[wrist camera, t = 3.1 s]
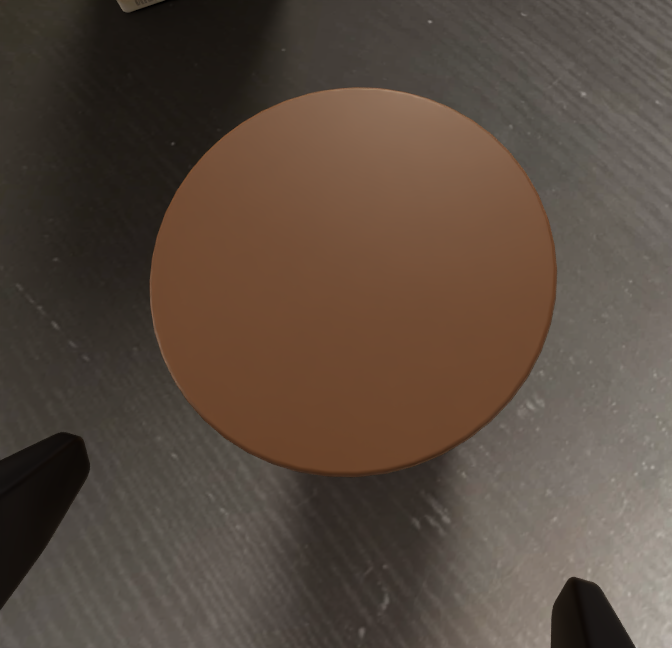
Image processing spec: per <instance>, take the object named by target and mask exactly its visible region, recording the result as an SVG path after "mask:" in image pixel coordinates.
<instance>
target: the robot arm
mask: <svg viewBox="0 0 672 648" xmlns="http://www.w3.org/2000/svg"><path fill="white" fill-rule="evenodd" d="M89 471H90V462H89V459H88V455H87V451H86V447H85V443H84V440H83V439H82V438H81V437H80V436H77V435H73V434H70V433H66V432H60V433H57V434H55V435H52V436H50V437H48V438H46V439H44V440H42V441H40V442H38V443H36V444H34V445H32V446H29V447H27V448H25V449H23V450H21V451H19V452H17V453H15V454H13V455H11V456H9V457H6V458H4V459H2V460H0V610H1V609H2V607H3V606H4V605H5V603H6V602H7V600H8V599H9V598H10V596H11V595H12V594H13V592H14V591H15V589H16V588H17V587H18V585H19V584H20V583H21V581H22V580H23V578H24V577H25V576H26V574H27V573H28V572H29V570H30V569H31V567H32V566H33V565H34V563H35V562H36V560H37V559H38V558H39V556H40V555H41V553H42V552H43V550H44V549H45V547H46V546H47V544H48V543H49V541H50V539H51V538H52V536H53V534H54V533H55V531H56V529H57V528H58V526H59V524H60V523H61V521H62V519H63V518H64V516H65V514H66V512H67V511H68V509H69V507H70V506H71V504H72V502H73V501H74V499H75V497H76V496H77V494H78V492H79V491H80V489H81V487H82V485H83V484H84V482H85V480H86V479H87V477H88V474H89ZM551 648H636V647H635V645H634V644H633V642H632V640H631V639H630V637H629V635H628V634H627V632H626V630H625V628H624V627H623V625H622V623H621V622H620V620H619V618H618V617H617V615H616V613H615V611H614V610H613V608H612V606H611V605H610V603H609V601H608V600H607V598H606V596H605V595H604V593H603V591H602V590H601V588H600V587H599V586H598V585H597V584H595V583H594V582H590V581H587V580H583V579H580V578H576V577H571V578H569V579H568V580H567V582H566V584H565V585H564V587H563V589H562V590H561V592H560V594H559V596H558V597H557V599H556V601H555V603H554V605H553V609H552V619H551Z"/></svg>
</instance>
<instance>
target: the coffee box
mask: <svg viewBox="0 0 672 648" xmlns="http://www.w3.org/2000/svg"><path fill="white" fill-rule="evenodd" d="M161 1H165V0H117V2H118V3H119V5H120V7H121V8H122V10H123V11H124V12H127V13H129V12H132V11H135V10H138V9H141V8H144V7H147V6H149V5H152V4H155V3H158V2H161Z"/></svg>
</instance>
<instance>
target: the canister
mask: <svg viewBox="0 0 672 648" xmlns="http://www.w3.org/2000/svg"><path fill="white" fill-rule="evenodd" d="M556 284H557V265H556V254H555V245H554V241H553V236H552V232H551V228H550V224H549V220H548V217H547V215H546V212H545V210H544V207H543V205H542V203H541V200H540V198H539V195H538V193H537V191H536V190H535V188H534V186H533V184H532V183H531V181H530V179H529V178H528V176H527V174H526V172H525V171H524V170H523V168H522V167H521V166H520V165H519V163H518V162H517V161H516V159H515V158H514V157H513V156H512V154H511V153H510V152H509V151H508V150H507V149H506V148H505V147H504V146H503V145H502V144H501V143H500V142H499V141H498V140H497V139H496V138H495V137H494V136H493V135H492V134H490V133H489V132H488V131H486V130H485V129H484V128H482V127H481V126H480V125H478V124H477V123H476V122H474V121H473V120H471V119H470V118H468V117H466V116H464V115H463V114H461V113H459V112H457V111H456V110H454V109H452V108H450V107H448V106H445V105H443V104H440V103H438V102H436V101H433V100H431V99H428V98H425V97H421V96H417V95H414V94H410V93H407V92H402V91H395V90H389V89H382V88H360V87H354V88H341V89H331V90H325V91H320V92H315V93H310V94H306V95H303V96H300V97H296V98H293V99H290V100H287V101H284V102H282V103H279V104H277V105H275V106H273V107H270V108H268V109H266V110H263V111H262V112H260V113H258V114H256V115H255V116H253V117H251V118H249V119H248V120H246V121H244V122H243V123H241V124H240V125H238V126H237V127H236V128H234V129H233V130H232V131H230V132H229V133H228V134H226V135H225V136H223V137H222V138H221V139H220V140H219V141H218V142H217V143H216V144H215V145H214V146H213V147H212V148H210V149H209V150H208V151H207V152H206V153H205V154H204V155H203V157H202V158H201V159H200V160H199V161H198V162H197V164H196V165H195V166H194V167H193V168H192V169H191V171H190V172H189V173H188V175H187V176H186V178H185V179H184V181H183V182H182V184H181V185H180V187H179V188H178V190H177V191H176V193H175V195H174V197H173V199H172V201H171V203H170V205H169V207H168V209H167V211H166V213H165V216H164V218H163V221H162V224H161V227H160V229H159V232H158V235H157V239H156V243H155V248H154V252H153V256H152V264H151V274H150V307H151V313H152V319H153V325H154V331H155V335H156V338H157V341H158V344H159V348H160V351H161V354H162V357H163V359H164V361H165V363H166V366H167V368H168V370H169V372H170V374H171V376H172V378H173V380H174V382H175V383H176V385H177V386H178V388H179V389H180V391H181V392H182V394H183V395H184V397H185V398H186V400H187V401H188V402H189V404H190V405H191V406H192V407H193V408H194V409H195V410H196V412H197V413H198V414H199V415H200V416H201V417H202V418H203V420H204V421H205V422H207V423H208V424H209V425H210V426H211V427H212V428H214V429H215V430H216V431H217V432H218V433H219V434H221V435H222V436H223V437H224V438H225V439H227V440H229V441H230V442H232V443H233V444H235V445H236V446H238V447H239V448H241V449H243V450H244V451H246V452H247V453H249V454H252V455H254V456H256V457H258V458H260V459H262V460H265V461H267V462H269V463H271V464H274V465H277V466H280V467H284V468H287V469H290V470H294V471H297V472H301V473H307V474H314V475H320V476H327V477H363V476H371V475H379V474H387V473H391V472H394V471H398V470H402V469H406V468H410V467H413V466H416V465H419V464H421V463H424V462H426V461H428V460H431V459H433V458H436V457H438V456H440V455H443V454H445V453H446V452H448V451H450V450H451V449H453V448H455V447H456V446H458V445H460V444H461V443H463V442H465V441H467V440H468V439H470V438H471V437H472V436H473V435H475V434H476V433H477V432H478V431H480V430H481V429H482V428H483V427H485V426H486V425H487V424H488V423H490V422H491V421H492V420H493V419H494V418H495V417H496V416H497V415H498V414H499V413H500V412H501V411H502V410H503V408H504V407H505V406H506V405H507V404H508V403H509V402H510V401H511V400H512V399H513V397H514V396H515V394H516V393H517V392H518V390H519V389H520V388H521V386H522V385H523V383H524V382H525V381H526V379H527V378H528V376H529V374H530V372H531V370H532V369H533V367H534V365H535V363H536V361H537V359H538V357H539V355H540V353H541V351H542V348H543V345H544V343H545V340H546V337H547V334H548V331H549V328H550V325H551V320H552V315H553V310H554V305H555V300H556Z"/></svg>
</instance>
